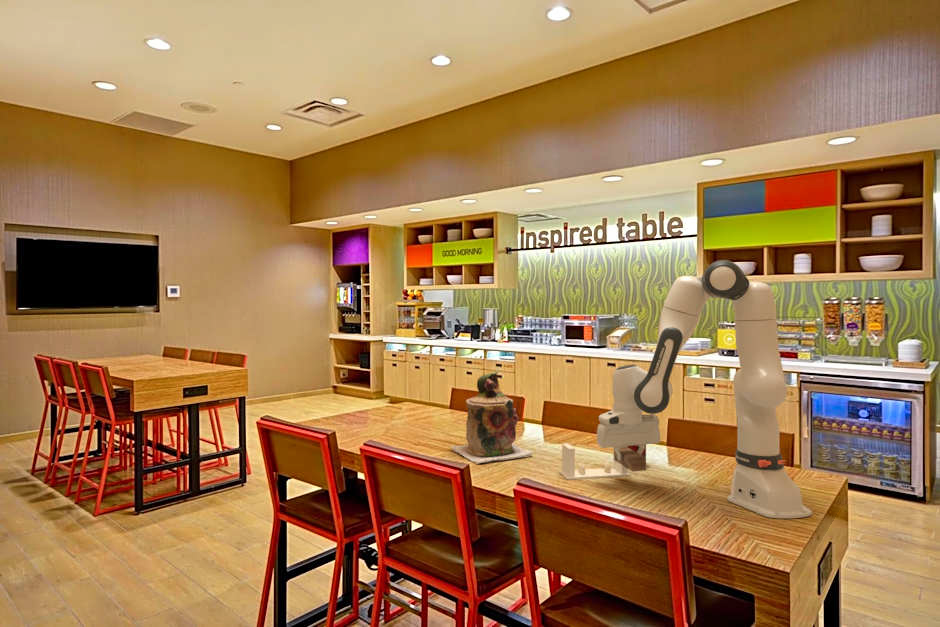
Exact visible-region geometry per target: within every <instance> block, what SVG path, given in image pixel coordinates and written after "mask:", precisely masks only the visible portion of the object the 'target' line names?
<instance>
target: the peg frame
mask: <svg viewBox="0 0 940 627" xmlns="http://www.w3.org/2000/svg"><path fill="white" fill-rule="evenodd" d="M561 444H562V446H561V452H562V453H561V454H562V458H561V459H562V460H561V463H562V465H561V466H562V467H561V468H562V470H559V474H560V475H562V477H564V478H565V479H566V480H584V479H587V480H588V479H602V478H603V479H604V478H605V479H606V478H618V477H619V478H621V477H631V473H630V472H628V470H629V469H628V468H626V467H624V466H623V465H621V464H620V463H618V462H617V461H615V460H614V459H613V467H612V464H611V462H610V463H609V461H603V468H586V465H585V464H584V463H583V462H578V469H575V468H576V463H575V461H576V460H575V459H576V458H575V456H576V449H575V447H573V445H571V444H570V443H566V442H565V443H561ZM621 447H628V446H621Z"/></svg>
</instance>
